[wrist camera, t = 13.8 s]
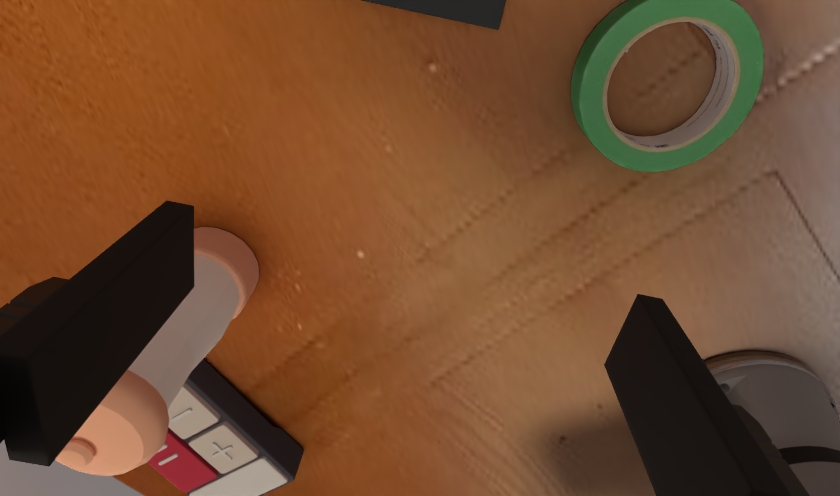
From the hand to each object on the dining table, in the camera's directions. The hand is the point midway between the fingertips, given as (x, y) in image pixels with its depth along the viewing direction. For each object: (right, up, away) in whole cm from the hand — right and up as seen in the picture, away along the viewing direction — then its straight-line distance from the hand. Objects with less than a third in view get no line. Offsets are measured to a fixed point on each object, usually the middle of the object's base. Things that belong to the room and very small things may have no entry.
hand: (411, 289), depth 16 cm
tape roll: (+16, +12, +19) cm, 28 cm away
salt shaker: (-17, 0, +28) cm, 32 cm away
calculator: (-20, -16, +37) cm, 45 cm away
